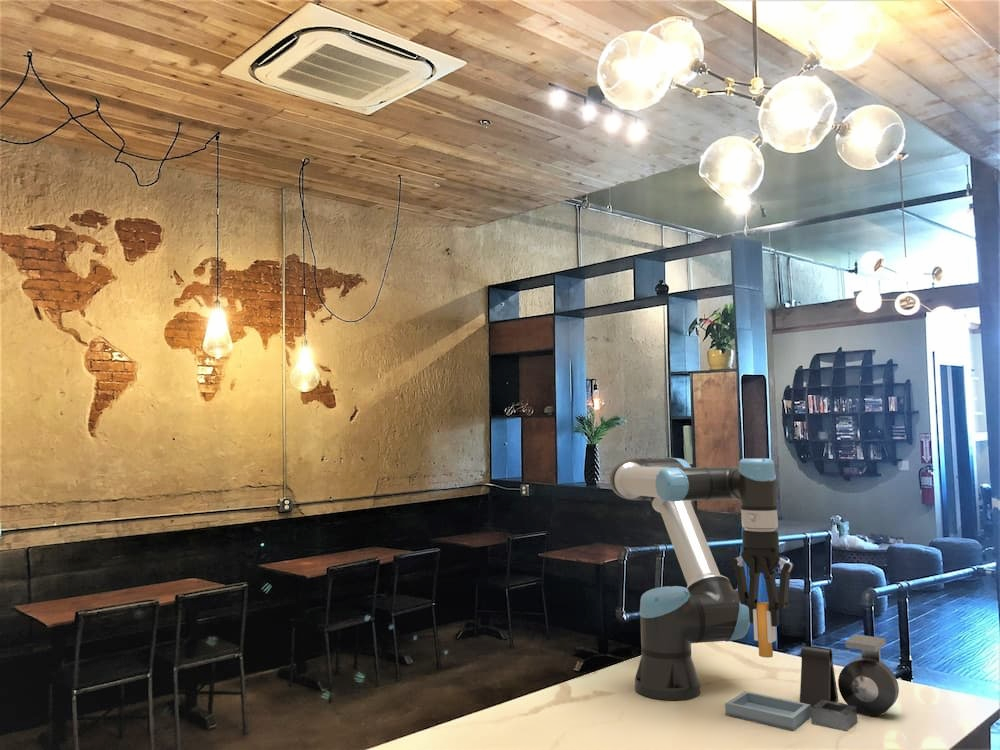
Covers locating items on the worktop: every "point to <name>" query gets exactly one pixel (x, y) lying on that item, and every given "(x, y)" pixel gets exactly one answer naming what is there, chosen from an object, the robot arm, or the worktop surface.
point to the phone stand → (817, 676)
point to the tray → (768, 710)
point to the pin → (763, 630)
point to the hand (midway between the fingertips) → (765, 640)
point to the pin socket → (834, 715)
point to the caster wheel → (868, 678)
